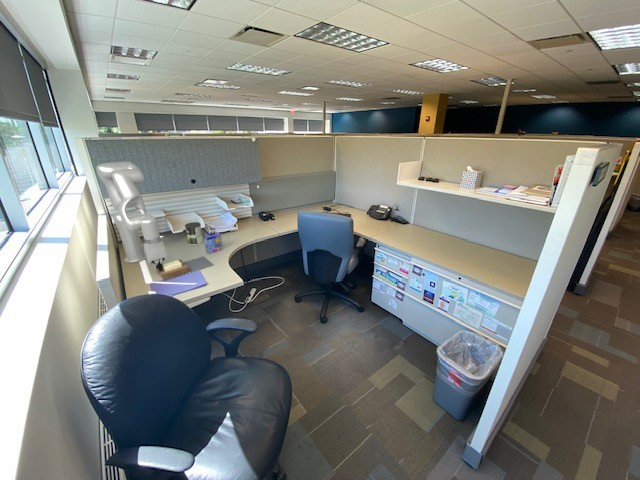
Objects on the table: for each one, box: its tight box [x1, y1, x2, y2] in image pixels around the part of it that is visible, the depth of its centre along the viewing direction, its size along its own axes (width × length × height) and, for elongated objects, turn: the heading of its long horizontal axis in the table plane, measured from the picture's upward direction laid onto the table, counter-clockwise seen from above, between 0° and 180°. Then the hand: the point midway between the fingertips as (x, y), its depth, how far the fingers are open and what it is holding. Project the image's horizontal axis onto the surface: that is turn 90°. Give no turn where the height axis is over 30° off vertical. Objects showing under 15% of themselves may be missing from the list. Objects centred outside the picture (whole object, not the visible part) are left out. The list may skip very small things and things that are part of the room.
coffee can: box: [184, 221, 204, 246], centre depth 199 cm, size 10×10×14 cm
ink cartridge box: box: [203, 231, 223, 255], centre depth 186 cm, size 10×6×14 cm, turn 137°
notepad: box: [162, 259, 182, 272], centre depth 160 cm, size 6×9×2 cm, turn 133°
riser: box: [155, 259, 190, 282], centre depth 161 cm, size 15×14×3 cm
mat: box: [183, 255, 215, 273], centre depth 170 cm, size 16×14×1 cm
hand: (160, 269), depth 156 cm, fingers closed
